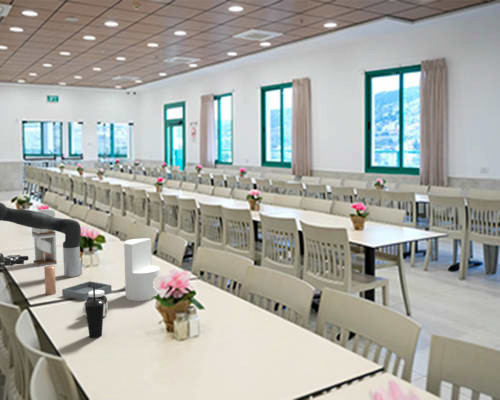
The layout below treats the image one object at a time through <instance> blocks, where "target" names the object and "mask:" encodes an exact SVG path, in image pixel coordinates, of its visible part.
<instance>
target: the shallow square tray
mask: <svg viewBox="0 0 500 400" xmlns="http://www.w3.org/2000/svg"><path fill="white" fill-rule="evenodd" d="M93 287H95V290H103V291H104V295H106V294H108V293H112V284H106V283H101V282H97V281H91V280H90V281H85V282H83V283H79V284H76V285H73V286H70V287H69V286H68V287H66V288H62V290H61V291H62V292H61V293H62V297H64V298H65V297H66V298H70V299H74V300H79V301H85V302H86V301H87V298H88V297H89V296H88V292H90V291H93Z"/></svg>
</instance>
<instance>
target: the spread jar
mask: <svg viewBox="0 0 500 400" xmlns="http://www.w3.org/2000/svg"><path fill="white" fill-rule="evenodd" d="M88 296H89V297H88V298H87V300H85V302H87V301H89V300H92V299H93V291H90V292H88ZM95 299H100V300H103V301H104V302H105V303H104V309H103V320H104V319H105V318H106V316H107V314H108V309H109V308H108V307H109V306H108V305H109V304H108V303H109V302H108V298H107V295H106V294H104V291H103V290H95ZM82 312H83V313H84V314H85V316H86V317H87V315H86V308H85V305H84V304H83V307H82Z"/></svg>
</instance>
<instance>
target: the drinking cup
mask: <svg viewBox="0 0 500 400" xmlns="http://www.w3.org/2000/svg"><path fill="white" fill-rule="evenodd" d="M86 301H87V300H86ZM86 301H85V302H84V304H83V306H84V305H85V308H86V314H85V316H86V315H87V316H86V322H87V328H88V329H87V330H88V337H89V338H92V339H97V338H101V337H102V336H103V324H104V323H103V321H104V319H103V309H104V303H105V302H104V301H103V300H100V299H95V287H93V299H92V300H89V301H87V302H86Z"/></svg>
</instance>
